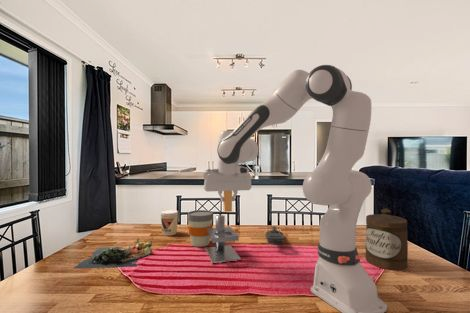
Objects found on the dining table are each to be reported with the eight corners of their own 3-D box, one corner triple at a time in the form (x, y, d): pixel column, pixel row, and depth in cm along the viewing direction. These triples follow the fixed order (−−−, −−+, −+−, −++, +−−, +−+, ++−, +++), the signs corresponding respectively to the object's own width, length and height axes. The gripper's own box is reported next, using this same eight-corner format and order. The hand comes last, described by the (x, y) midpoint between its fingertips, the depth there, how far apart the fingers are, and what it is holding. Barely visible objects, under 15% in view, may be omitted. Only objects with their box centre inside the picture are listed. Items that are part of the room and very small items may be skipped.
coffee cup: (157, 235, 139) (157, 212, 139) (166, 230, 148) (166, 209, 148) (172, 236, 136) (172, 214, 136) (181, 231, 145) (181, 210, 145)
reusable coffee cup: (182, 246, 122) (182, 215, 122) (193, 238, 134) (193, 209, 134) (208, 249, 119) (208, 216, 119) (216, 240, 131) (216, 210, 131)
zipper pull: (266, 237, 116) (265, 222, 141) (266, 252, 116) (265, 234, 141) (286, 238, 115) (282, 223, 140) (286, 253, 115) (282, 235, 140)
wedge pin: (231, 211, 109) (232, 187, 109) (224, 211, 109) (225, 188, 108) (230, 209, 112) (230, 186, 112) (223, 210, 111) (223, 187, 111)
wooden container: (359, 261, 107) (359, 208, 106) (374, 252, 116) (374, 203, 116) (399, 274, 95) (400, 215, 95) (412, 263, 105) (413, 209, 105)
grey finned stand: (240, 260, 106) (240, 222, 106) (212, 264, 103) (212, 224, 103) (230, 247, 122) (230, 213, 121) (205, 249, 118) (205, 214, 118)
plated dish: (169, 244, 127) (169, 230, 126) (157, 272, 99) (157, 253, 98) (95, 247, 123) (94, 232, 123) (61, 276, 95) (60, 257, 95)
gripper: (204, 169, 104) (204, 203, 104) (252, 169, 109) (252, 201, 110) (202, 168, 110) (202, 200, 110) (248, 168, 115) (247, 198, 116)
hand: (227, 201), depth 110 cm, fingers closed on wedge pin, 3 cm apart
